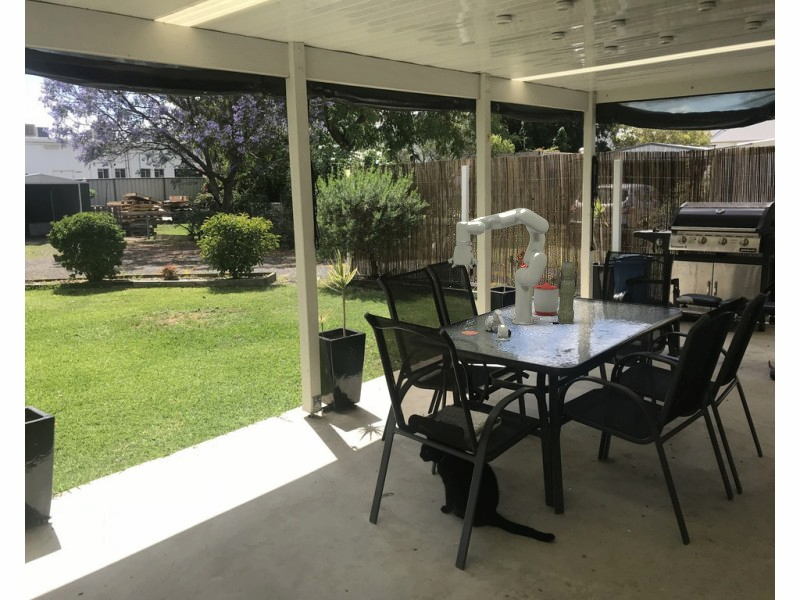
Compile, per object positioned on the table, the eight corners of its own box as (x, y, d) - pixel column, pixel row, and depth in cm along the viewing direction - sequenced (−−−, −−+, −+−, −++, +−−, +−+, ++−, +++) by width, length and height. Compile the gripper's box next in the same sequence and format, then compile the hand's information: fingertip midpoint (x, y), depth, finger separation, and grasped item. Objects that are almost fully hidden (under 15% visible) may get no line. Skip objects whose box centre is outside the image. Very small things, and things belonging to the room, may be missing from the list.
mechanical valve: (499, 323, 353) (506, 306, 341) (511, 349, 342) (519, 332, 331) (481, 326, 350) (488, 308, 339) (493, 352, 339) (500, 335, 328)
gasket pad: (478, 331, 345) (478, 331, 345) (478, 335, 336) (478, 334, 336) (461, 331, 346) (461, 330, 346) (460, 334, 338) (460, 334, 338)
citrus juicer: (564, 316, 386) (565, 283, 382) (535, 316, 386) (536, 283, 383) (558, 312, 401) (559, 280, 398) (530, 312, 401) (531, 280, 398)
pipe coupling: (509, 338, 329) (509, 324, 327) (510, 341, 322) (510, 326, 321) (495, 338, 329) (495, 323, 328) (495, 341, 323) (496, 326, 321)
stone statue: (579, 324, 364) (581, 262, 359) (560, 325, 361) (562, 263, 356) (571, 321, 373) (573, 261, 367) (552, 322, 370) (554, 261, 364)
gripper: (480, 244, 350) (480, 275, 353) (450, 243, 358) (450, 273, 361) (475, 245, 344) (475, 276, 347) (445, 244, 351) (445, 275, 354)
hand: (462, 275), depth 354 cm, fingers open, 9 cm apart
